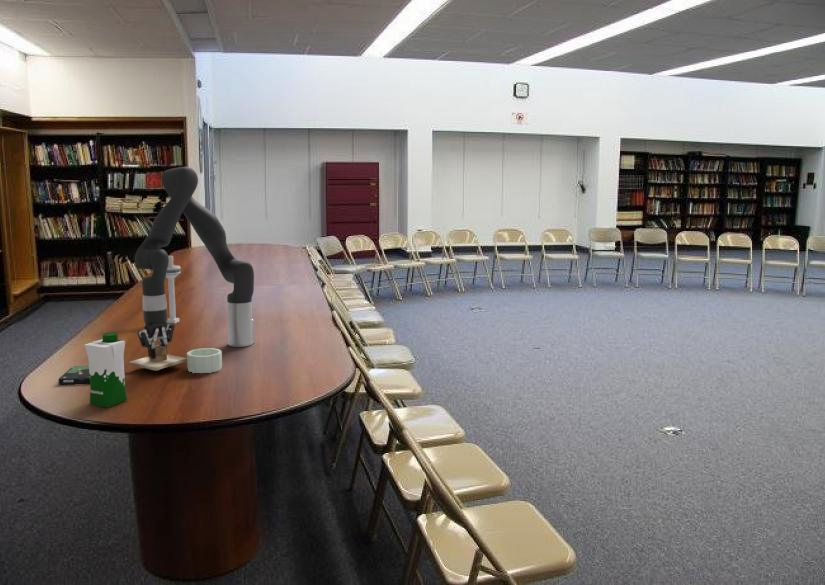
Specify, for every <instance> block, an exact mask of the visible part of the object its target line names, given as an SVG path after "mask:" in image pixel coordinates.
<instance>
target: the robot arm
mask: <svg viewBox="0 0 825 585" xmlns="http://www.w3.org/2000/svg"><path fill="white" fill-rule="evenodd" d="M161 174H162V175H161V177H160V178H161V184H162V187H163V189H164V190H165V192H166V193H167V195H168V196H169V197H170V199H169V200H168V201H167V203H166V204H165V206H164V207H163V208H162V209H161V210H160V211H159V213H158V214H157V215H156V216H155V219H154V221H153V222H152V225H151V228H150V231H149V234H148V235H147V237H146V238H145V239H144V241H143V242H142V243H141V244H140V246H139V247H138V248H137V250H136V252H135V255H134V263H135V265H136V266H137V268H138V269H140V270H141V269H142V270H152V274H151V275H150V276H146V277H145V276H144V278H143V279H141V280H142V281H141V287H142V300H141V301H142V313H143V322H144V329H143V330H141V331H140V330H138V331H137V332H136V333H137V337H138V339H139V342H140V344H141V346H142V348H146V349H147V355H148V356H149V358H150V359H155V348H154V347H155V346H156V342H157V340H158V341H159V345H160V346H165V347H166V350H167V351H168V343H171V342H172V340H173V336H174V330H175V324H172V323H167V322H166V321H167V319H168V304H167V302H168V301H167V297H166V285H165V284H166V282H165V281H166V278H167V277H166V273H167V268H168V264H169V257H168V256H169V255H168V252H167V251H166V250H165V249H162V248H163V247H167V246H169V244H170V243H171V240H172V238H173V235H174V233H175V230H176V227H177V224H178V221H179V219H180V218H181V216H182V214H183V215H184V216H185V218H186V219H187V221H188V222H189V223H190V225H191V226H192V228H193V230H194V232H195V233H196V234H197V237H199V239H200V241H201V242H202V243H203V244H204V246H205V248H206V249H207V251H208V252H209V254H210V255H211V257H212V259H213V260H214V262H215V264H216V266H217V267H218V270H219V272H220V274H221V275H222V277H223V279H224V280H225V281H226V282H228V283H231V284H233V290H232V292H231V293H230V292H229V293H228V294H227V296H226V301H227V304H226V305H227V306H226V307H227V332H228V333H227V335H228V336H227V338H228V341H227V342H228V346H229V347H234V348H235V347H236V348H243V347H249V346H252V345H253V344H255V320H254V319H253V308H252V306H253V305H252V304H253V300H252V299H253V298H252V297H253V295H254V287H255V271H254V267H253V266H252V264H251V263H250V262H248V261H244V260H238V259H236V258H235V256H234V255H233V254H232V252H231V250H230V249H229V247H228V245H227V234H226V231H225V229H224V226H223V225H222V223H221V221H220V220H219V219H218V218H217V216H216V215H215V213H213V212H212V211H211V210H209V209H208V208H207V207H205V206H204V205H202V203H199V201H197V200H196V199H195V198H194V197H193V195H194V194H195V191H196V189H197V188H198V184H199V177H198V174H197V172H196V171H195V169H193V168H192V167H190V166H179V167H174V168H169V169H167V170H164V171H163V172H162V173H161ZM148 356H147V357H148Z"/></svg>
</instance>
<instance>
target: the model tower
mask: <svg viewBox="0 0 825 585" xmlns="http://www.w3.org/2000/svg"><path fill="white" fill-rule="evenodd" d="M168 257H169V264H168V268H167V273H166V278H167V283H168V286H167V289H168V302H169V303H168V305H169V306H168V307H169V318H168V317H167V318H168V319H167V321H166V322H167V324H177V322H178V323H179V322H180V318H179V317H176V315H177V314H176V297H175V296H176V295H175V294H176V293H175V290H176V289H175V278H176V277H178V276H179V275H180V274H181V272H182V270H181V266H180V265H179V264H177V265H176V264H174V256H173V255H168Z"/></svg>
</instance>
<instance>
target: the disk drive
mask: <svg viewBox="0 0 825 585" xmlns="http://www.w3.org/2000/svg"><path fill="white" fill-rule="evenodd" d="M75 384H87V385H90V374H89V365H82V366H81V365H80V366H79V365H74V366H72V367H70V368H69V369H68V370H67V371H66V372H64V374H62V375H61V376H60V377H59V378H58V386H76V385H75Z"/></svg>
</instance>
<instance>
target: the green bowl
mask: <svg viewBox="0 0 825 585" xmlns="http://www.w3.org/2000/svg"><path fill="white" fill-rule="evenodd" d="M222 356H223V351H222V350H221V349H219V348H215V347H214V348H213V347H212V348H209V347H206V348H205V347H204V348H195V349H192V350H189V351H188V352H187V353H186V358H187V361H186V365H187V366H186V367H187V371H189V372H188V373H190V372H192V373H191V374H194V373H209V374H213V373H212V372H214V373H217V371H218V372H220V371H221V370H222V367H223V357H222ZM219 370H220V371H219Z"/></svg>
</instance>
